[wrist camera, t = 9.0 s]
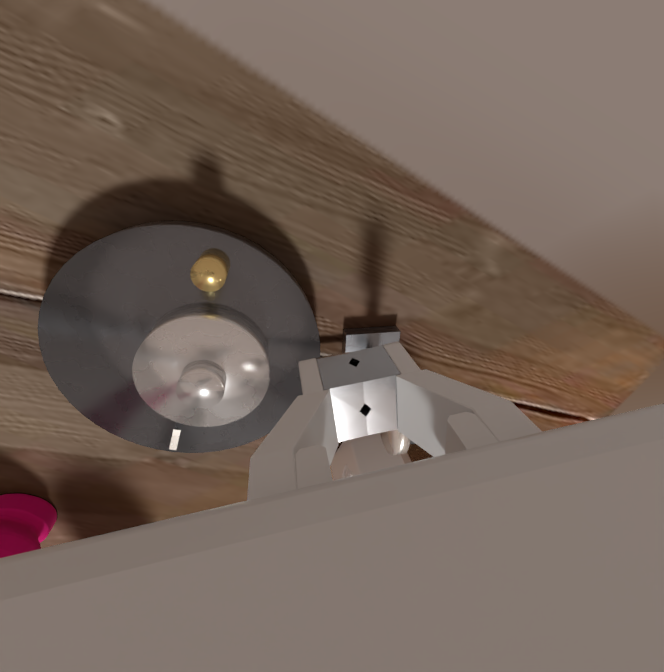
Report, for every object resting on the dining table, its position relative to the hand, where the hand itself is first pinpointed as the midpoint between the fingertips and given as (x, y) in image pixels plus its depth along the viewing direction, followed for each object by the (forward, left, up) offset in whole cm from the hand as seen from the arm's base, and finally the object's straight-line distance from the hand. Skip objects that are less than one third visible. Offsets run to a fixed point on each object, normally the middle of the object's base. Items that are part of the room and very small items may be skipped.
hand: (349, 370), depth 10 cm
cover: (-7, -8, -15) cm, 18 cm away
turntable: (-9, -8, -18) cm, 21 cm away
